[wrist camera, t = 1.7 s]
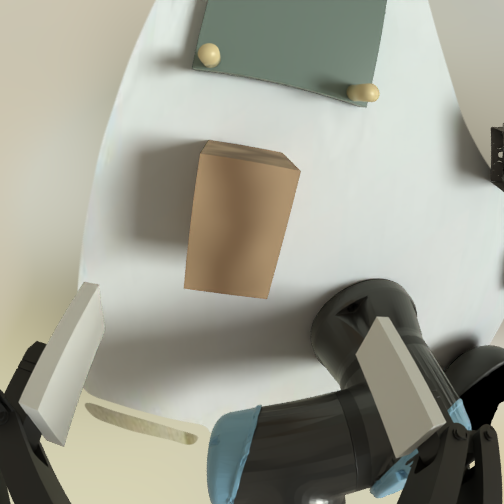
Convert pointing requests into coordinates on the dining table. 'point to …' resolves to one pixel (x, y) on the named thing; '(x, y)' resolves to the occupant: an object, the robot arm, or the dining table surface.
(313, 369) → the dining table surface
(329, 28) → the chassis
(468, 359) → the bowl of black rocks
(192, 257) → the walnut block
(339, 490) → the robot arm
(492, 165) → the electrical switch
